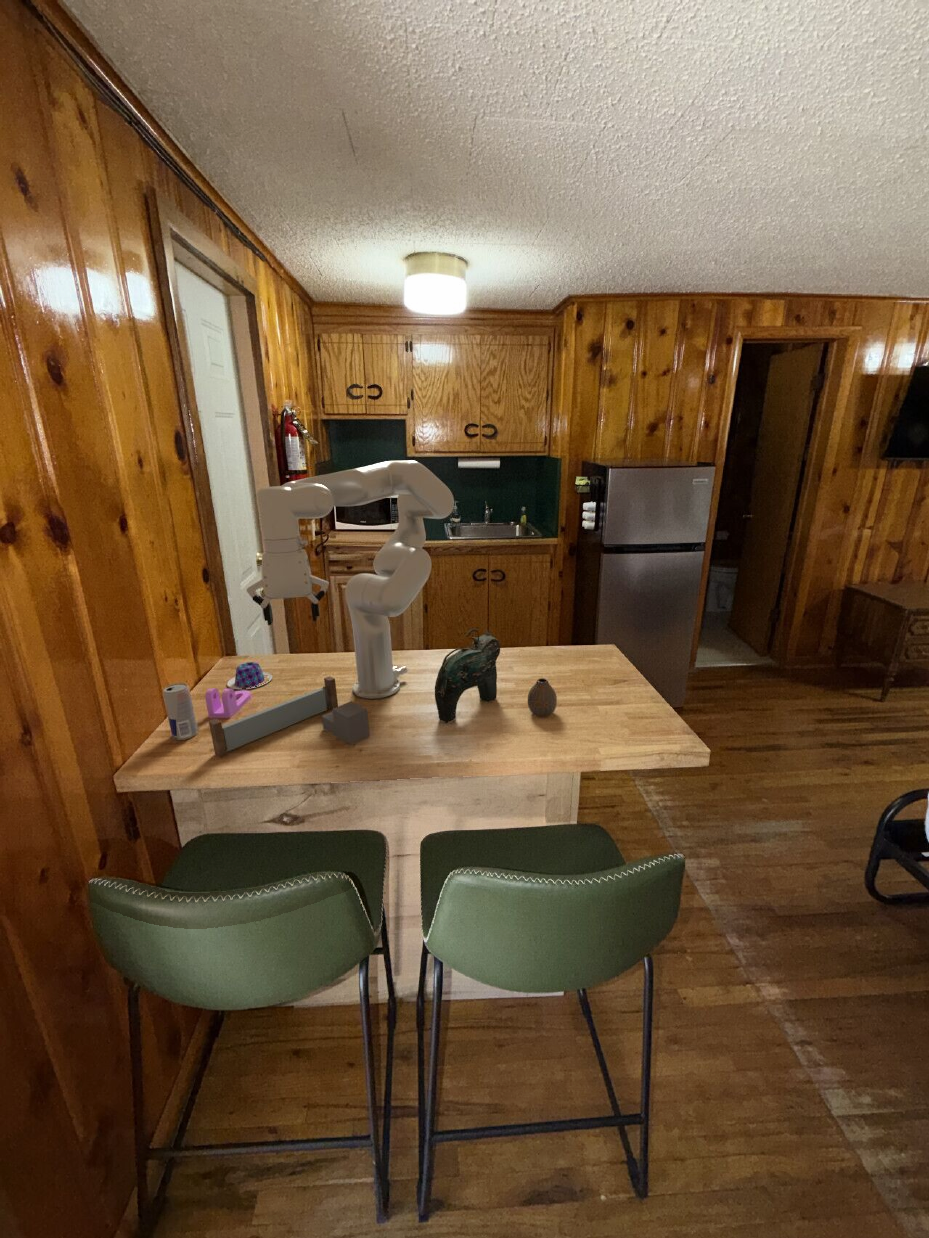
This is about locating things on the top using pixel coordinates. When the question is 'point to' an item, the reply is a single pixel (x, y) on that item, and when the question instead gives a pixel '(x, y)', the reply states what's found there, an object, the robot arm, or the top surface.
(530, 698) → the vase
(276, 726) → the grey long flat board
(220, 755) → the frame
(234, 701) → the bracket
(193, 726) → the energy drink
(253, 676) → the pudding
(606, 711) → the top surface
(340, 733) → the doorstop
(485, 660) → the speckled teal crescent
